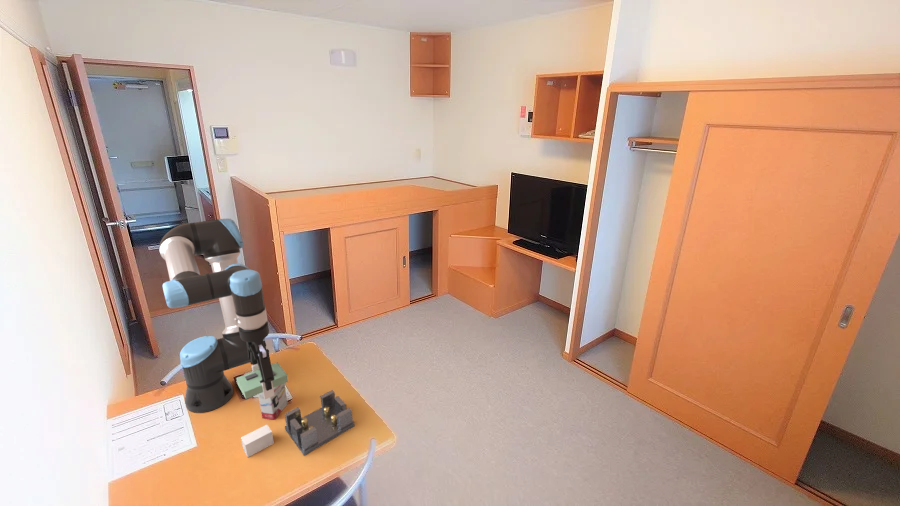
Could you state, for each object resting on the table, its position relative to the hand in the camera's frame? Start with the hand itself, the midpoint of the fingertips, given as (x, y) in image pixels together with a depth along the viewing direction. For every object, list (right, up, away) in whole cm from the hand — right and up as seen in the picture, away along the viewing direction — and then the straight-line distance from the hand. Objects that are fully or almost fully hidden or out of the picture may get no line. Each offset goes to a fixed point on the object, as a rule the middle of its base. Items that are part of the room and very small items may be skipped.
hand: (264, 389), depth 121 cm
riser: (-5, -21, +7) cm, 22 cm away
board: (0, +2, -1) cm, 2 cm away
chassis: (+12, -18, +14) cm, 26 cm away
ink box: (-6, -15, +21) cm, 27 cm away
